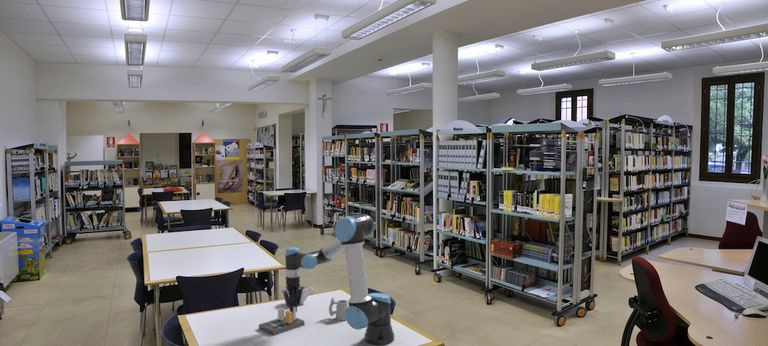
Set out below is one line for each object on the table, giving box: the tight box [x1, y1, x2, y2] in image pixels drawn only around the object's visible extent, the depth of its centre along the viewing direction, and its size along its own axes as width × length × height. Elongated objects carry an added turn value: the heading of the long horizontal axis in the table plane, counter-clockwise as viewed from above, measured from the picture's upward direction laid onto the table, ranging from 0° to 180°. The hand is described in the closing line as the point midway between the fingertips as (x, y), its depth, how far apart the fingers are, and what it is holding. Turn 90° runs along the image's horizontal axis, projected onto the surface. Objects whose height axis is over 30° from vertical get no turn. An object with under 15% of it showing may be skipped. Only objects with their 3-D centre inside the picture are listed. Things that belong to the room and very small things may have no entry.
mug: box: [328, 297, 349, 322], centre depth 270 cm, size 8×12×12 cm, turn 83°
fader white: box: [277, 307, 285, 321], centre depth 261 cm, size 4×2×6 cm, turn 47°
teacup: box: [298, 284, 314, 306], centre depth 297 cm, size 12×15×10 cm
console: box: [258, 316, 305, 337], centre depth 257 cm, size 14×20×3 cm
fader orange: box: [284, 310, 292, 324], centre depth 256 cm, size 4×2×6 cm, turn 47°
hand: (293, 318), depth 258 cm, fingers closed
